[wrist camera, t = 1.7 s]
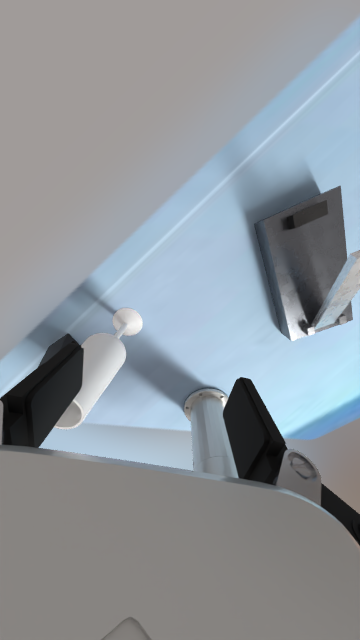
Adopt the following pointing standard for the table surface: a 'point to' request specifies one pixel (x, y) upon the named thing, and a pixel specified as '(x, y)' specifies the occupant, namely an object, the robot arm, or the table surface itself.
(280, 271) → the block
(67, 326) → the table surface
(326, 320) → the strap
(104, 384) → the champagne flute
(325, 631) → the robot arm
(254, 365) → the table surface
